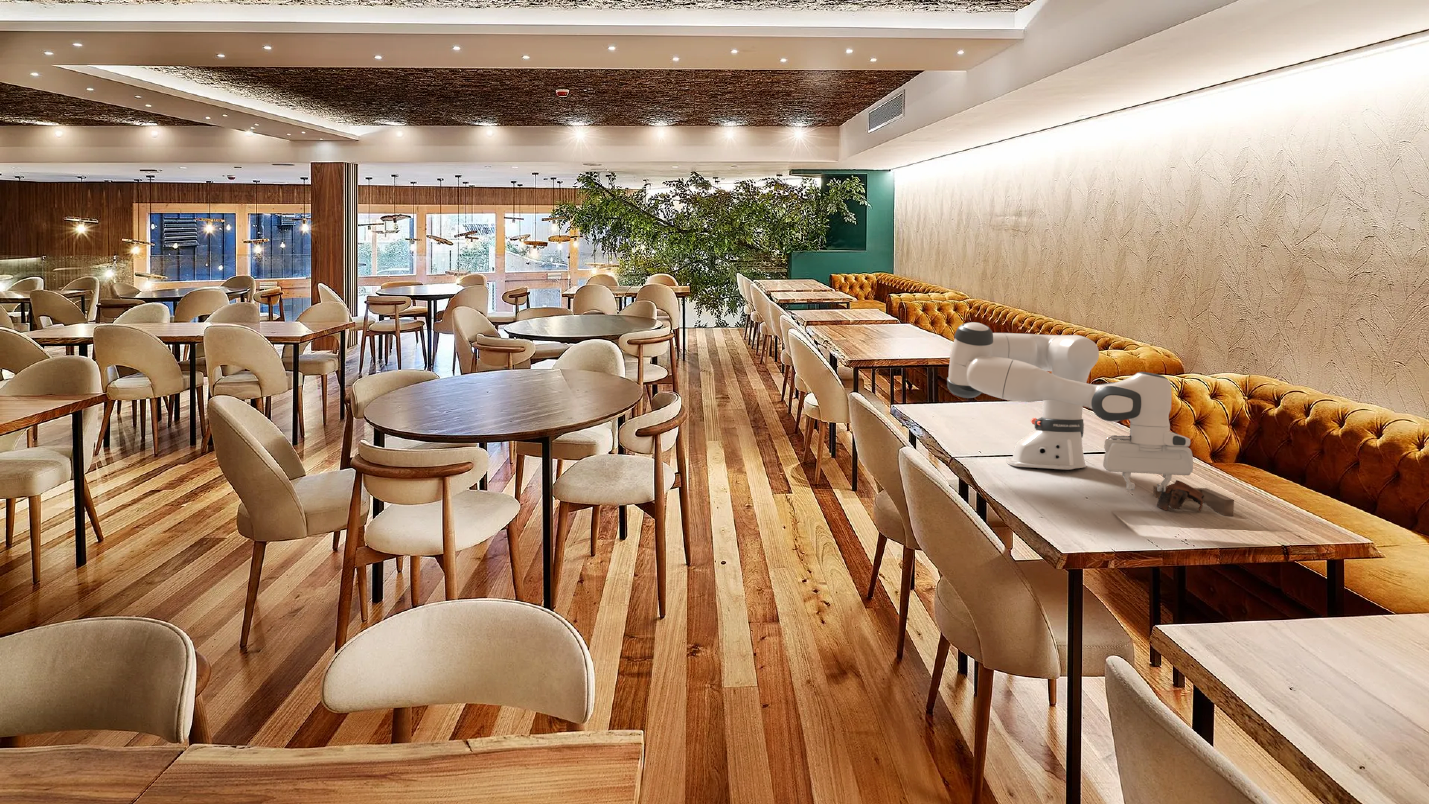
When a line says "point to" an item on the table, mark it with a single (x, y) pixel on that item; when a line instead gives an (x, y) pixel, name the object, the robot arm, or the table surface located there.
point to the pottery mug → (1179, 496)
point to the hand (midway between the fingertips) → (1145, 490)
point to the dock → (1211, 500)
